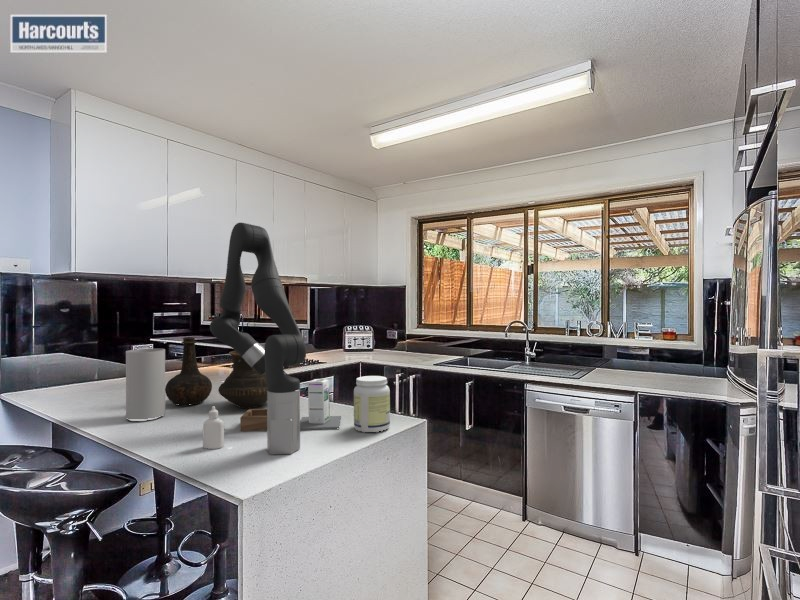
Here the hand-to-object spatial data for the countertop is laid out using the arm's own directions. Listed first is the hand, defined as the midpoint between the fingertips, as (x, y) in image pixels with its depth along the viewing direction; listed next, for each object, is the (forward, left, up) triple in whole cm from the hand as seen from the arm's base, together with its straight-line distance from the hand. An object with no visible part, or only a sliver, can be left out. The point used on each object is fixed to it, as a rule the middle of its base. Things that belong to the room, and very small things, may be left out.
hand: (293, 391), depth 150 cm
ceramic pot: (+30, +22, -12) cm, 39 cm away
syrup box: (0, -9, -11) cm, 14 cm away
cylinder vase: (+15, +56, -12) cm, 59 cm away
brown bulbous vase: (+37, +49, -12) cm, 62 cm away
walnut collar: (0, +11, -12) cm, 16 cm away
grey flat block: (0, -9, -12) cm, 15 cm away
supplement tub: (-7, -27, -12) cm, 30 cm away
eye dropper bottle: (-21, +20, -12) cm, 31 cm away
